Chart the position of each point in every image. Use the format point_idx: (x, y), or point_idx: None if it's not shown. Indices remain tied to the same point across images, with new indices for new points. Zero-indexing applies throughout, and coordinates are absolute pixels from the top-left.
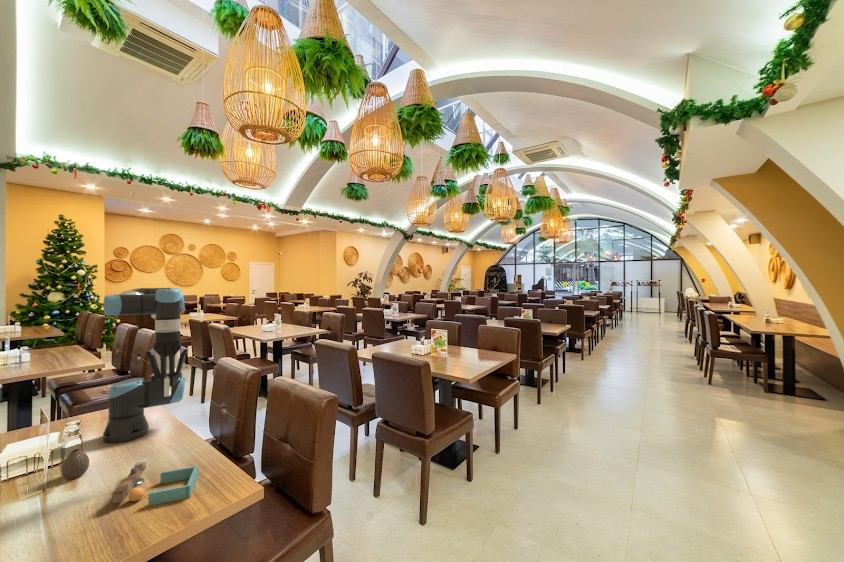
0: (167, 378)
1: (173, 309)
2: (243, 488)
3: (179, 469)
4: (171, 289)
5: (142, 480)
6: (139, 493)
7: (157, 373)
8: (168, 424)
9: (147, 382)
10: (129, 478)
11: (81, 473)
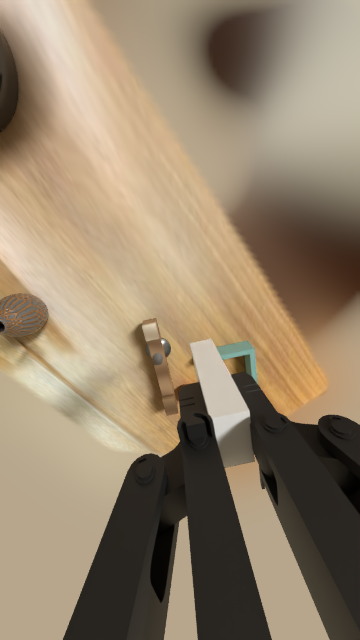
0: (242, 462)
1: None
2: (313, 380)
3: (228, 357)
4: None
5: (168, 346)
6: None
7: (172, 548)
8: None
9: None
10: (160, 372)
11: (47, 318)
